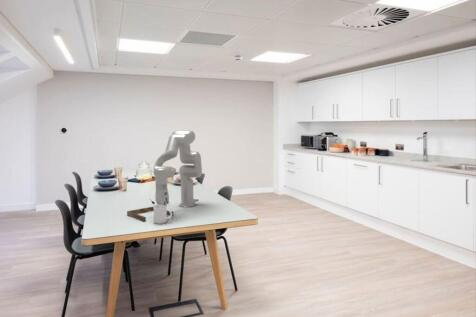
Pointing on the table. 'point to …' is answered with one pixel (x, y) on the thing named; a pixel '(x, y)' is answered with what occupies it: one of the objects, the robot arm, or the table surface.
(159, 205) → the mug
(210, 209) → the table surface
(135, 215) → the open wooden rail frame
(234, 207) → the table surface
